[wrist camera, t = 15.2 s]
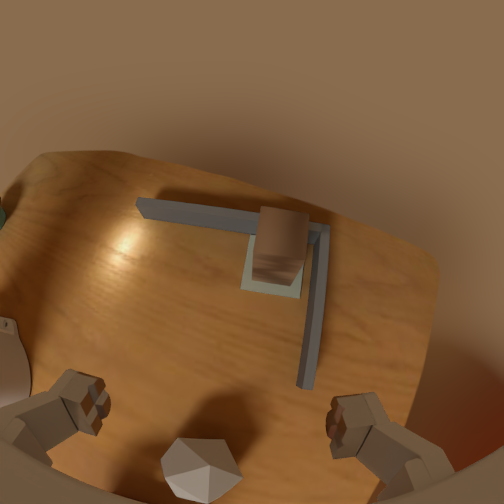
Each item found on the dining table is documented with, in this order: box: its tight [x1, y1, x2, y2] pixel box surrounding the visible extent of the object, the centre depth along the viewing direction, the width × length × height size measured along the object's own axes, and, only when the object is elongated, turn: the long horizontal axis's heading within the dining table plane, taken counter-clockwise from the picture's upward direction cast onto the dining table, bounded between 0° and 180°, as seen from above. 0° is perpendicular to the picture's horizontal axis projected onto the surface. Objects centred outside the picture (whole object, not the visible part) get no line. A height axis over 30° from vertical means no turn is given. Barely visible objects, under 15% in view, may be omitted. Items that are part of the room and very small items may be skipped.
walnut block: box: [252, 206, 310, 286], centre depth 32 cm, size 5×5×10 cm
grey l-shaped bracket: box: [135, 197, 330, 390], centre depth 33 cm, size 26×20×4 cm
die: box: [160, 438, 243, 504], centre depth 23 cm, size 8×9×10 cm
